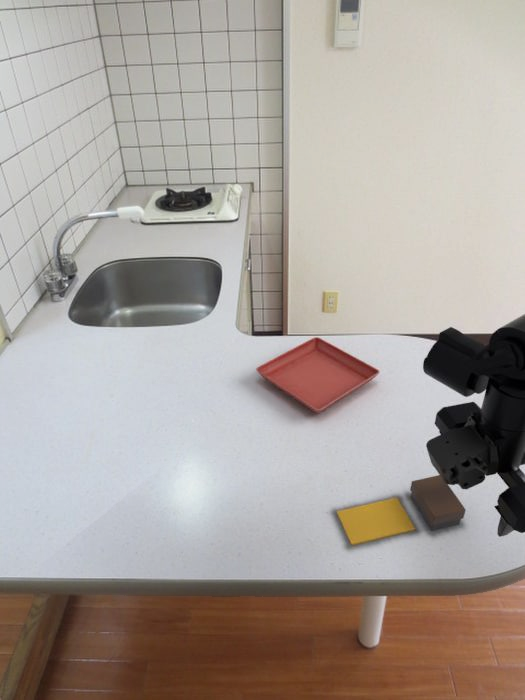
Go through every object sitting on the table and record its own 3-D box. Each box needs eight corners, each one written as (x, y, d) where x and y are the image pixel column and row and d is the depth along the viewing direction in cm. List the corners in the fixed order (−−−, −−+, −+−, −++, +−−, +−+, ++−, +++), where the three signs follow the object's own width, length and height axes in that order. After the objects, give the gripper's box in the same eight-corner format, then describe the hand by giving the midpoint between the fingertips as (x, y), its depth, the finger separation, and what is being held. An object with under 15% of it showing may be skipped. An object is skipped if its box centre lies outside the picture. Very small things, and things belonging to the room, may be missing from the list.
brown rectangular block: (461, 525, 78) (465, 509, 76) (430, 532, 77) (434, 517, 75) (437, 489, 84) (441, 474, 82) (408, 496, 83) (411, 481, 81)
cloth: (396, 498, 82) (397, 497, 82) (415, 530, 77) (415, 528, 77) (336, 512, 80) (336, 511, 80) (351, 545, 76) (351, 544, 75)
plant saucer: (316, 347, 118) (316, 335, 116) (380, 383, 106) (381, 370, 104) (254, 381, 108) (254, 368, 106) (318, 425, 97) (318, 411, 95)
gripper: (405, 378, 66) (392, 466, 75) (490, 491, 51) (462, 584, 59) (485, 364, 68) (464, 451, 76) (591, 469, 53) (549, 562, 61)
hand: (480, 505), depth 68 cm, fingers open, 9 cm apart
